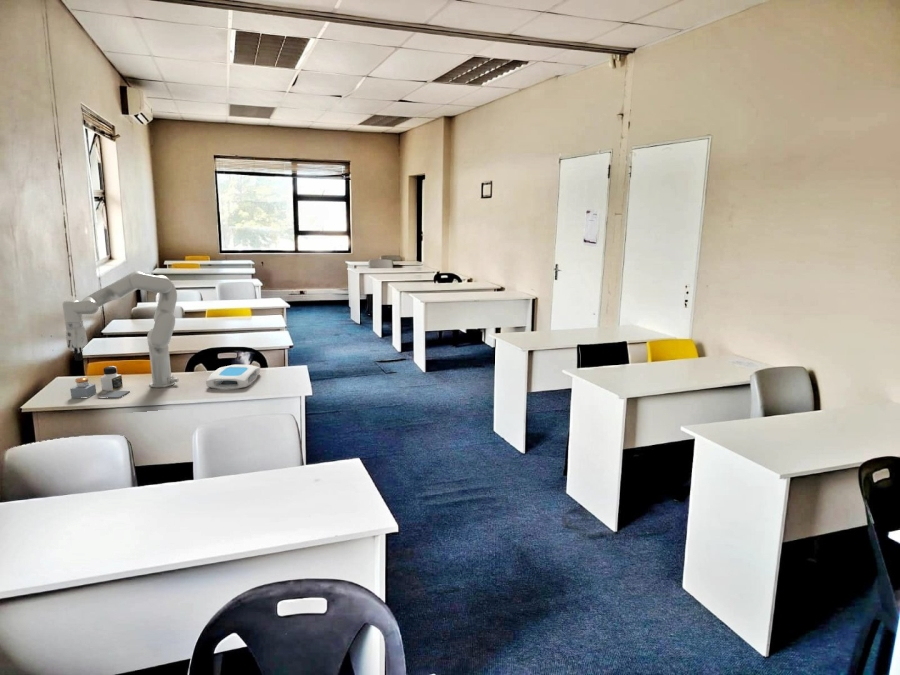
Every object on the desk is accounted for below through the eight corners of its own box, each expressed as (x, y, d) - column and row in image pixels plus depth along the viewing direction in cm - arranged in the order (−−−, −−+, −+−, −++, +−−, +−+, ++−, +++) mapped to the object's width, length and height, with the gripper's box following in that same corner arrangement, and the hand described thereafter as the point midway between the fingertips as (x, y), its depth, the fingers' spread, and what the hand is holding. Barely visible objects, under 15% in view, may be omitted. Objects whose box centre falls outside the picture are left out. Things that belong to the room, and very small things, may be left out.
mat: (129, 392, 311) (129, 390, 311) (119, 398, 301) (119, 397, 301) (109, 392, 311) (108, 390, 310) (98, 398, 301) (97, 396, 301)
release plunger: (92, 389, 307) (90, 377, 305) (85, 393, 302) (83, 380, 300) (81, 389, 307) (79, 377, 305) (74, 392, 302) (72, 380, 300)
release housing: (96, 393, 309) (95, 384, 308) (87, 398, 301) (85, 388, 300) (81, 393, 309) (79, 383, 308) (71, 398, 301) (70, 388, 300)
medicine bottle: (113, 391, 312) (110, 369, 310) (101, 390, 314) (98, 368, 311) (123, 387, 319) (120, 365, 316) (111, 386, 321) (109, 364, 318)
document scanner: (260, 374, 345) (259, 364, 344) (245, 389, 318) (244, 378, 317) (224, 374, 345) (223, 364, 343) (206, 389, 317) (205, 378, 316)
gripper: (72, 328, 289) (77, 364, 293) (90, 321, 304) (95, 356, 308) (57, 327, 289) (62, 364, 293) (76, 321, 304) (80, 356, 308)
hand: (79, 360), depth 300 cm, fingers closed
